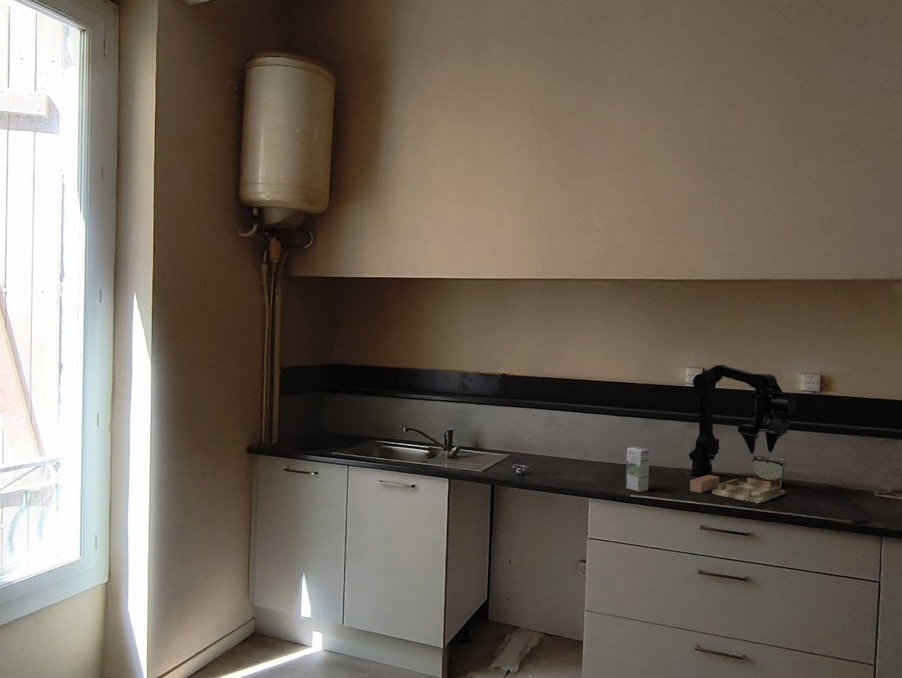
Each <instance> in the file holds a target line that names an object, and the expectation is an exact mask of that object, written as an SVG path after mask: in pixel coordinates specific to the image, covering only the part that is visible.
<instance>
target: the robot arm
mask: <svg viewBox="0 0 902 678" xmlns="http://www.w3.org/2000/svg"><path fill="white" fill-rule="evenodd" d="M723 378H727V379H730V380H735V381H737V382H741V383H745V384H747V385H748V386H749V387H750V388H752V389H754V390H753V391H752V392H751V393H749V395H750V396H753V397H755V403H754V410H752V411H751V414H752V415H753V416H754V418H753V419H754V420H753V422H751V424H747V423H746V424H739V425H738V426H737V433H739V434H740V435H741V436H742V438H743V439H744V441H745V444H746V445H747V448H748V450H749V453H750V454H754V453H755V450H756V449H755V447H756V441H757V439H758V438H759V437H760V435H759V433H761V432H764V433H765V440H766V445H767V451H768V453H773V450H774V448H775V446H776V444H777V441H778V439H779V438H781V437H782V436H785V434H787V433H788V429H790V420H789V419H787V418H782V419H779V418H777V417H776V416H777V414H776V413H775V412H777V413H785V414H794V412H795V411H796V409H797V402H796V399H795V397H794V394H793V393H784V392H783V390H782V388H781V387H780V385H779V384H778V380H777V378H776V376H775V375H774V374H767V373H753V372H749V371H747V370H746V371H745V370H742V369H738V368H735V367H730V366H727V365H725V364H717V365H714V366H712V368H709V369H708V370H705V371H703V372H701V373H698V374H696V375H694V377H693V379H692V385H693V390H694V393H695V395H697V399H698V404H697V405H698V428H699V430H698V431H699V433H698V436H697V439H696V441H695V447H694V448H693V449H692V451H691V452H690V453H689V454H688V456H689V460H691V461H692V462H691V472H690V473H689V475H690V476H695V477H698V478H699V477H703V476H706V475H712V476H714V475H713V465H712V461H714V459H715V457H716V456H717V454H719V450H721V448H720V439H719V438H716V437H715V434H714V428H713V400H712V398H713V396H714V393H715V391H716V387H717V386H716V385H717V383H719V382H720V381H721V380H722V379H723ZM773 411H774V412H773Z"/></svg>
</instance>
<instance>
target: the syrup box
mask: <svg viewBox="0 0 902 678" xmlns="http://www.w3.org/2000/svg"><path fill="white" fill-rule="evenodd" d="M626 449H627V450H626V469H625V470H626V476H625V489H626V490H630V491H633V492H638V493H640V492H645V491H649V472H650V471H649V470H650V469H649V468H650V467H649V466H650V449H649V448H644V447H639V446H631V447H628V448H626Z"/></svg>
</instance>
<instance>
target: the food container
mask: <svg viewBox="0 0 902 678" xmlns="http://www.w3.org/2000/svg"><path fill="white" fill-rule="evenodd" d="M750 462H752V469H753V472H752V473H753V479H757V480H762V481H768V482H771V488H775V487H781V488H782V483H783V478H784V472H785V468H786V467H787V462H786V460H785V459H783V458H782V457H781V458H780V457H775V456H771V455H770V456H768V455H753V456H752V457H751V459H750Z"/></svg>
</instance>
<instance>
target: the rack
mask: <svg viewBox="0 0 902 678" xmlns="http://www.w3.org/2000/svg"><path fill="white" fill-rule="evenodd" d="M781 488H782V486H781V487H771V482H768V481H762V480H757V479H754V478H751V477H750V478H749V477H747V478H746V482H744V481H740V479H739V478H734V479H730V480H727V481H724V482H719V484H717V488H715V489H712V490H711V494H712V495H716V496H722V497H726V498H731V499H735V500H740V501H744V500H745V502H748V501H750V502H749V503H753V502H755V503H754V504H758V503H760V504H762V503H761V502H763V503H765V502H767V501H770V500H772V499H776V498H779V497H781V496H783V495H785V494H786V491H785V489H781Z"/></svg>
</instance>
